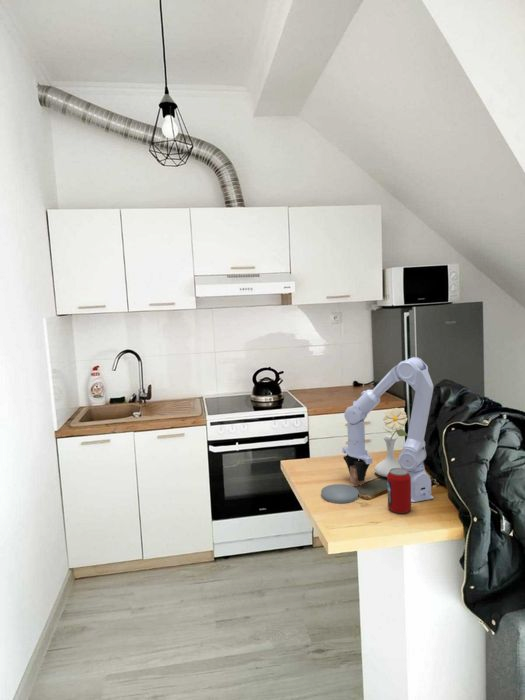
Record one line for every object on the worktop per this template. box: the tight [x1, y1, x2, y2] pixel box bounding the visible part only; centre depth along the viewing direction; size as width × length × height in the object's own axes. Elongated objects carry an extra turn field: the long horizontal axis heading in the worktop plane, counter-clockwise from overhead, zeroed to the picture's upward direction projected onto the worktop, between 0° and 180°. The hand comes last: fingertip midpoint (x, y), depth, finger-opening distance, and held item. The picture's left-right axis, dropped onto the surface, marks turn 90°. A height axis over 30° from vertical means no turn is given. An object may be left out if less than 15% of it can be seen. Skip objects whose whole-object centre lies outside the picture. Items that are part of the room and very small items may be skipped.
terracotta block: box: [349, 465, 366, 487], centre depth 164 cm, size 4×4×6 cm
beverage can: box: [386, 468, 412, 514], centre depth 143 cm, size 7×7×12 cm
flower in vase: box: [374, 407, 408, 478], centre depth 170 cm, size 13×11×25 cm
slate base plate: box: [320, 483, 360, 504], centre depth 155 cm, size 12×12×2 cm
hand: (357, 478), depth 165 cm, fingers closed on terracotta block, 4 cm apart
